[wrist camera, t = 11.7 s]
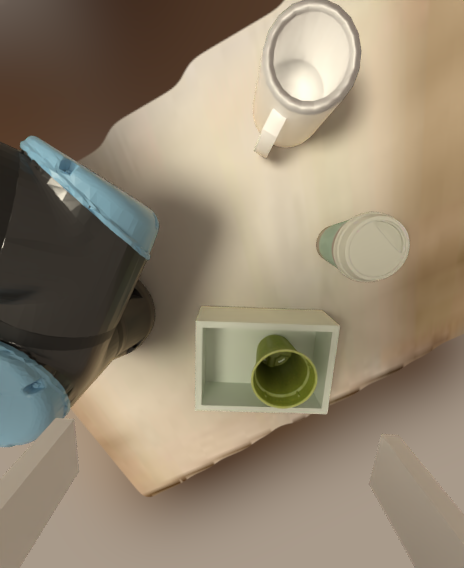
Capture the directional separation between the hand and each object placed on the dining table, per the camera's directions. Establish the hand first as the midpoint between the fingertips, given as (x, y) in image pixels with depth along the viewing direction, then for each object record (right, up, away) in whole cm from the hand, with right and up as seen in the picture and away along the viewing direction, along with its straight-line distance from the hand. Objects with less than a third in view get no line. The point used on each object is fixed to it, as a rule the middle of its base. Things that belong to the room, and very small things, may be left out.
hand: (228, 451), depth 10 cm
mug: (+8, +32, +25) cm, 41 cm away
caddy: (+5, -4, +33) cm, 34 cm away
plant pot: (+7, -4, +32) cm, 33 cm away
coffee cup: (+17, +14, +29) cm, 37 cm away
